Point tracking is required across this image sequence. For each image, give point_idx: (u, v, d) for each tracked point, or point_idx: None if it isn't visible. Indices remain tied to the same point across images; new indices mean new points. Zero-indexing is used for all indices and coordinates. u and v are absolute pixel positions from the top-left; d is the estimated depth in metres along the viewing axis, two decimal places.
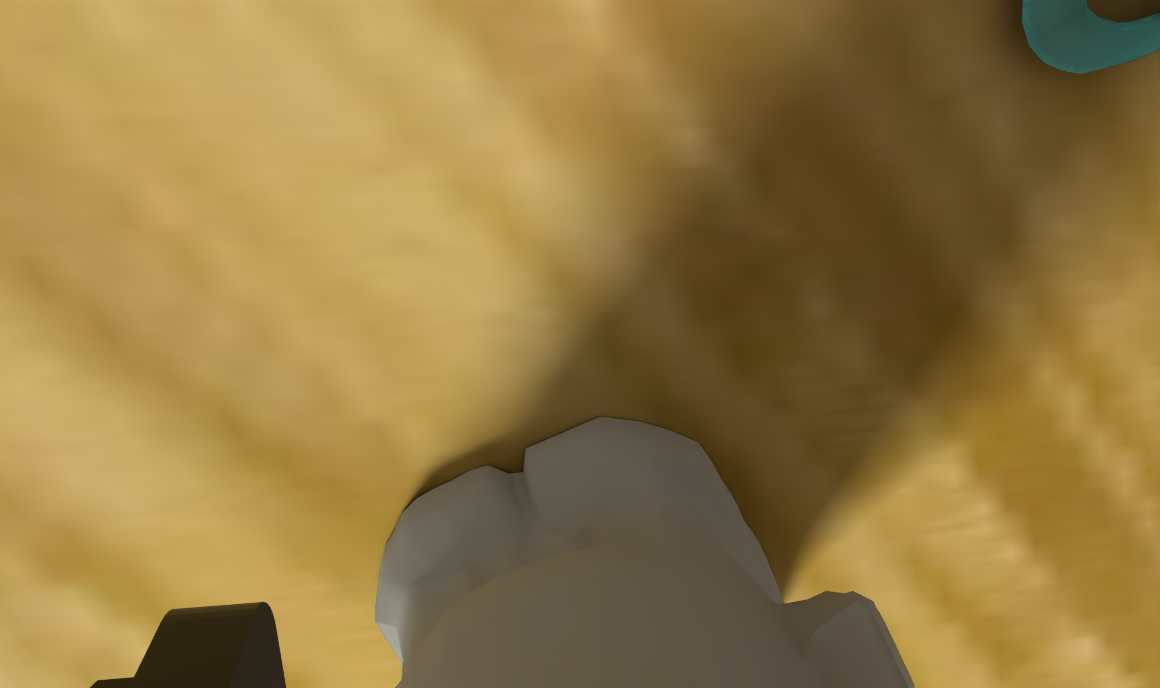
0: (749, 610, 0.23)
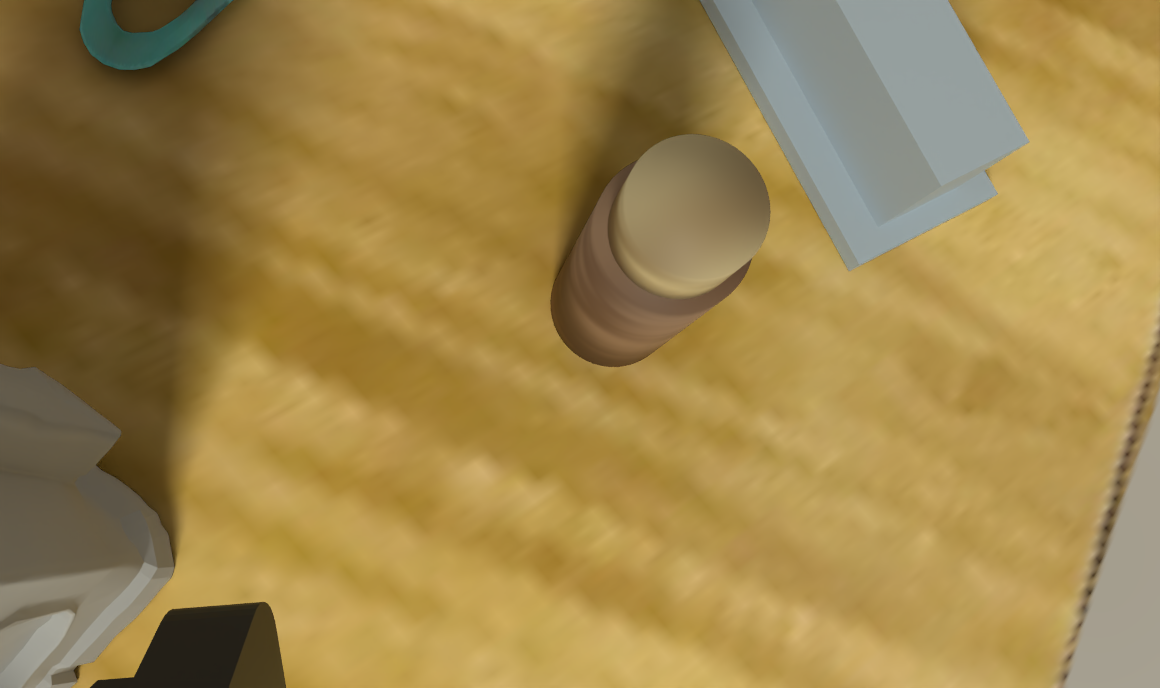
0: None
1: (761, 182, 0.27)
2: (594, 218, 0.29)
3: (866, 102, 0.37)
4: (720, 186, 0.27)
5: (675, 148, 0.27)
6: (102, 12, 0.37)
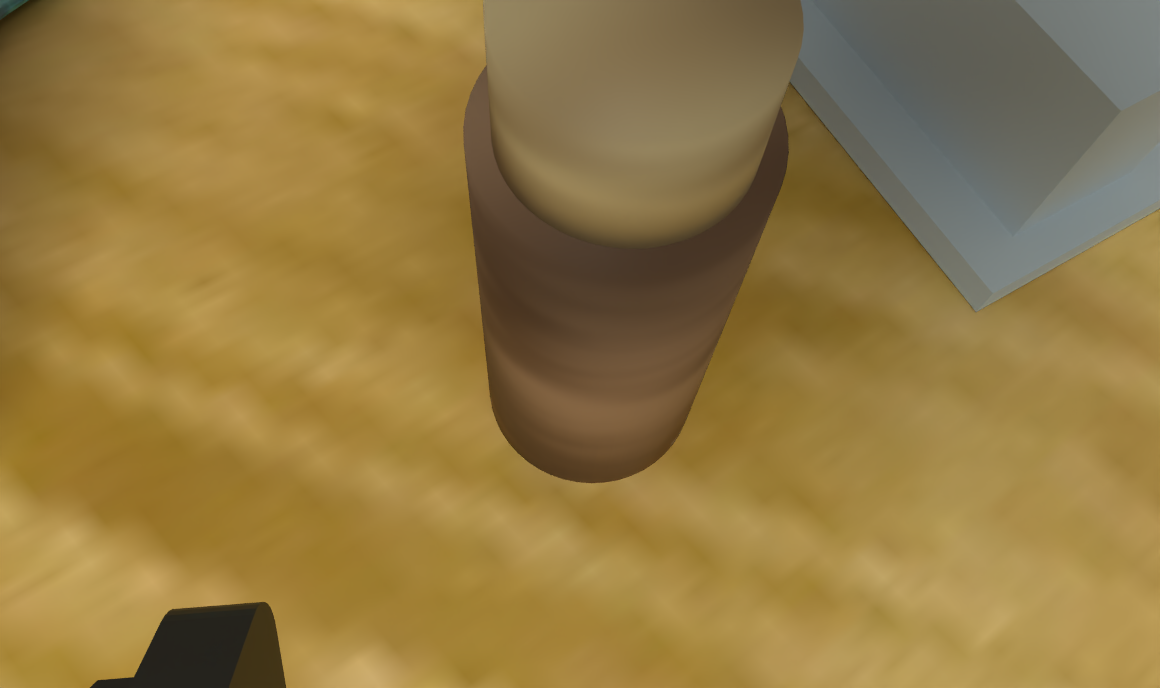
0: None
1: None
2: (466, 117, 0.15)
3: (965, 21, 0.23)
4: None
5: None
6: None
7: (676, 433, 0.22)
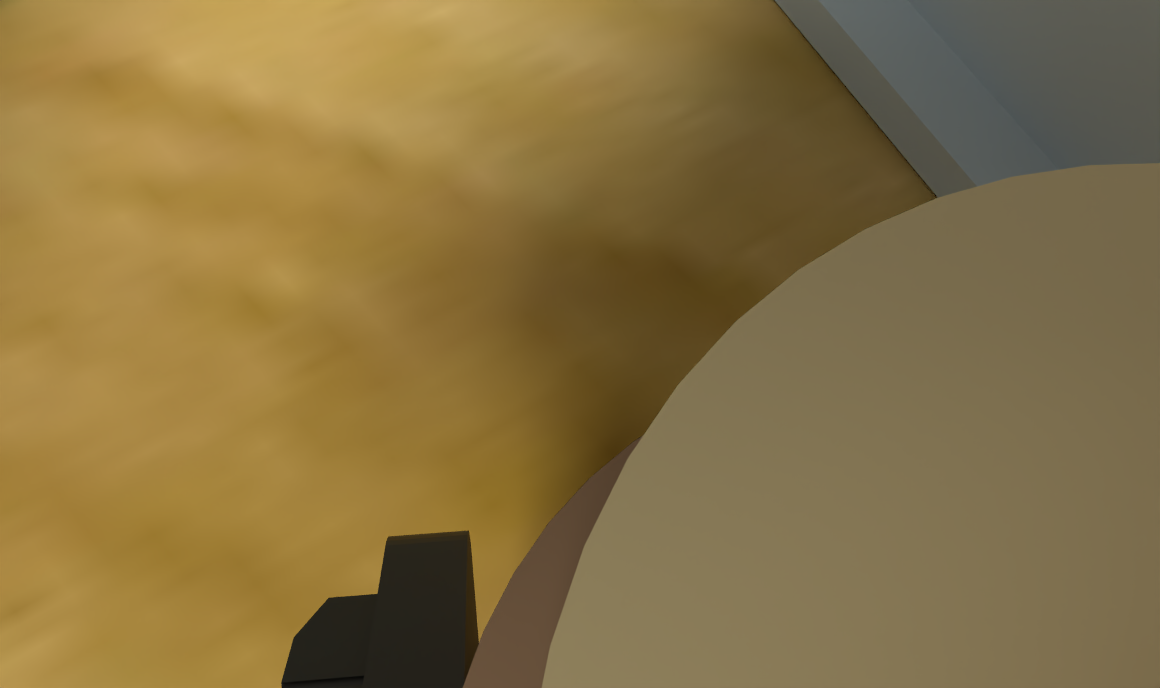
0: None
1: None
2: None
3: None
4: None
5: (989, 289, 0.03)
6: None
7: None
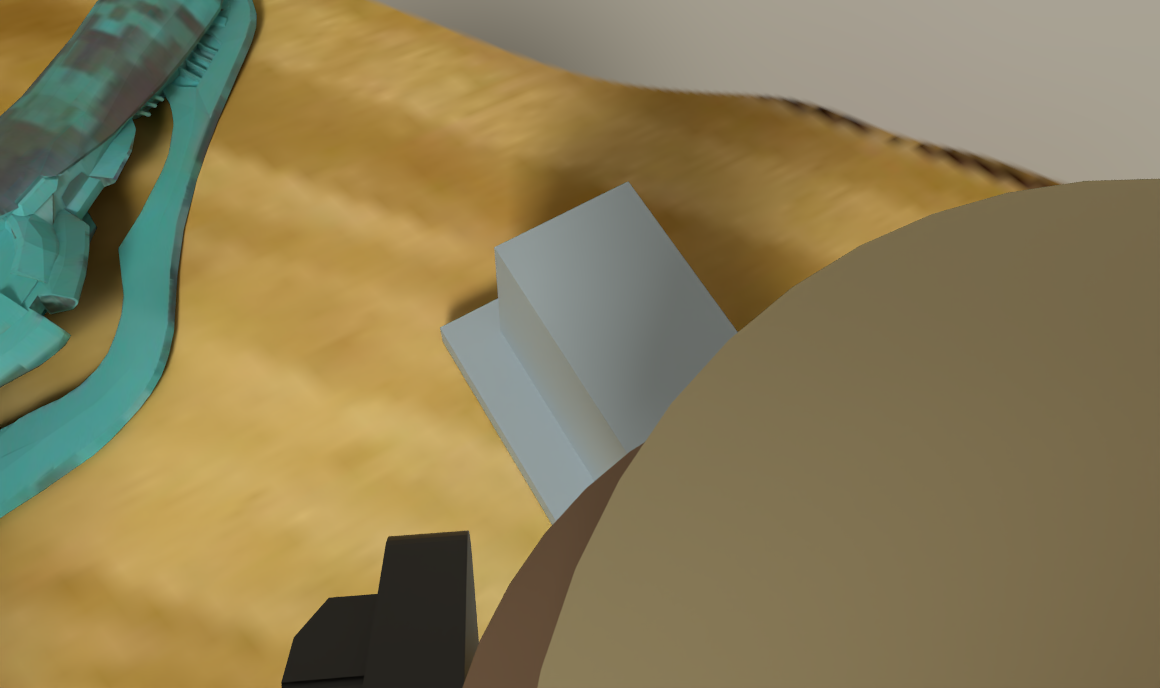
0: None
1: None
2: None
3: None
4: None
5: (984, 307, 0.03)
6: None
7: None
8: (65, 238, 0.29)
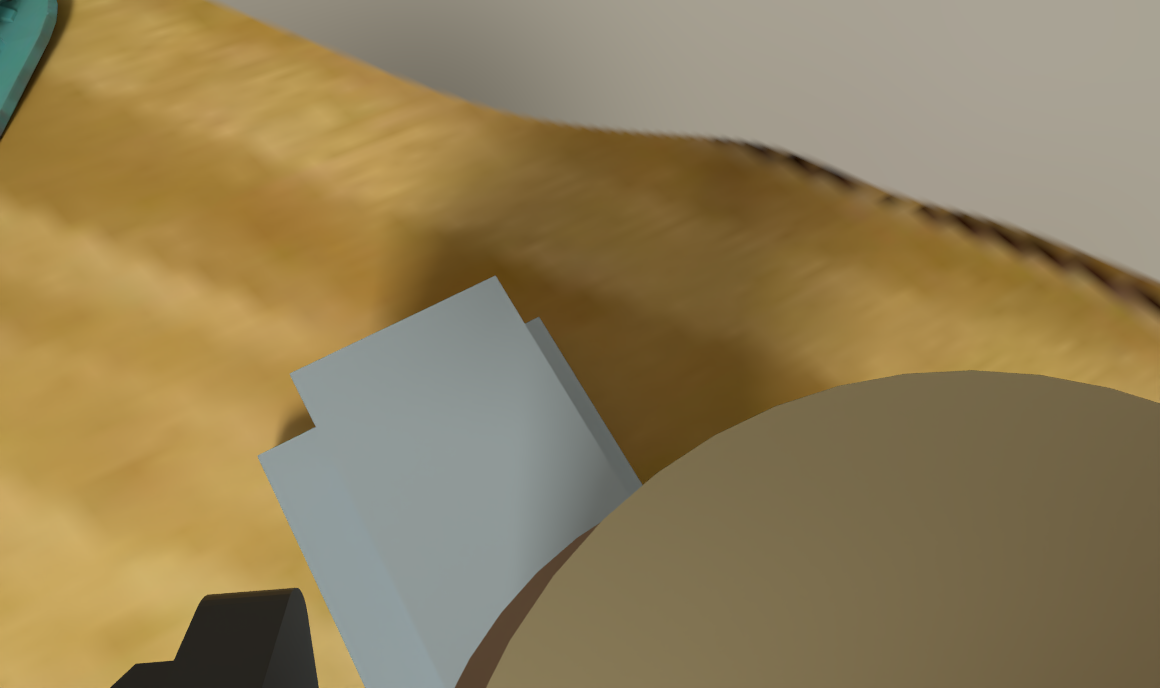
0: None
1: None
2: None
3: None
4: None
5: (812, 488, 0.04)
6: None
7: None
8: None
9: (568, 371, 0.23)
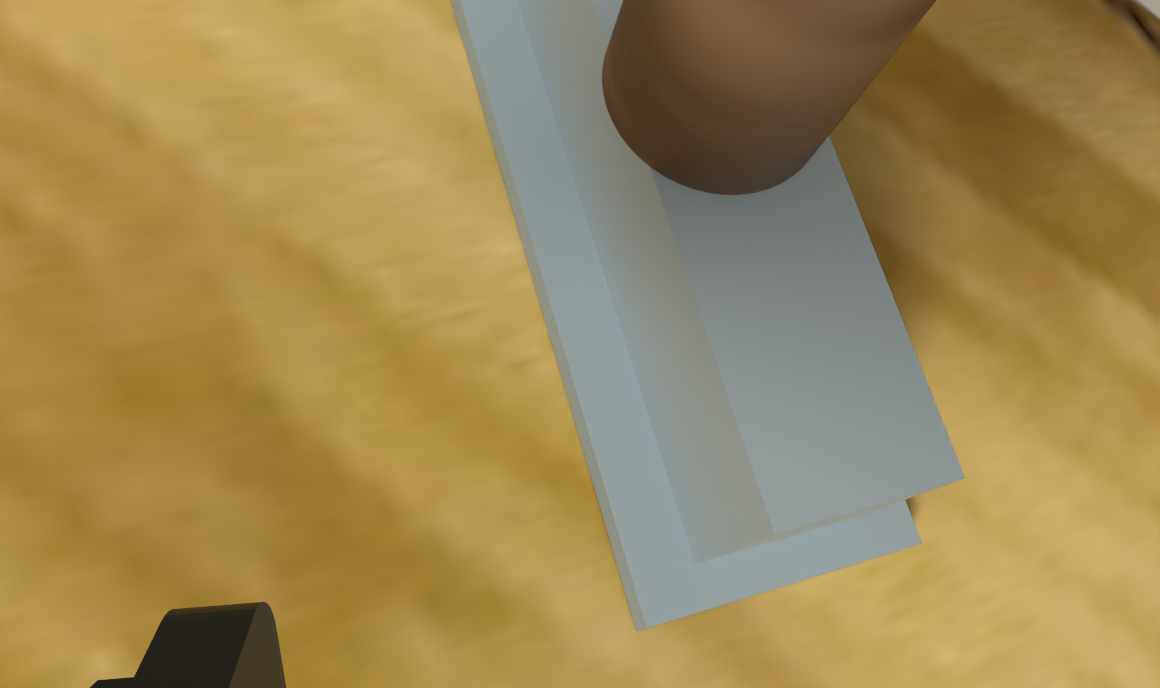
0: None
1: None
2: None
3: (682, 345, 0.20)
4: None
5: None
6: None
7: (807, 156, 0.19)
8: None
9: None
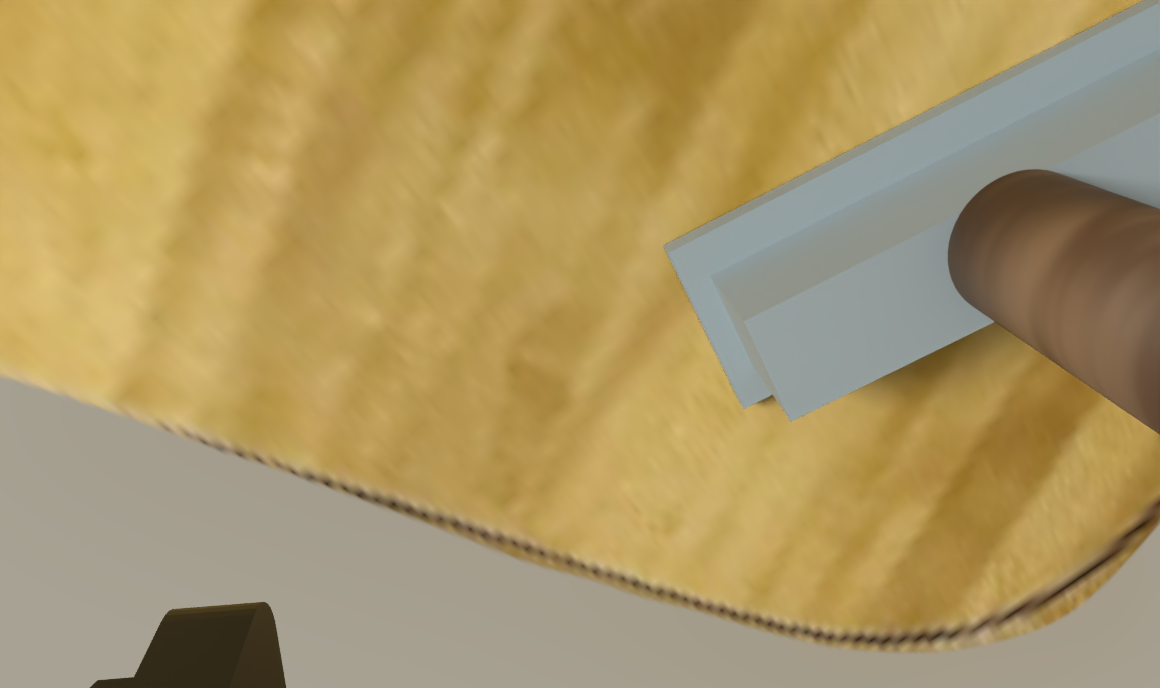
0: None
1: None
2: None
3: (846, 250, 0.32)
4: None
5: None
6: None
7: (978, 309, 0.31)
8: None
9: None
